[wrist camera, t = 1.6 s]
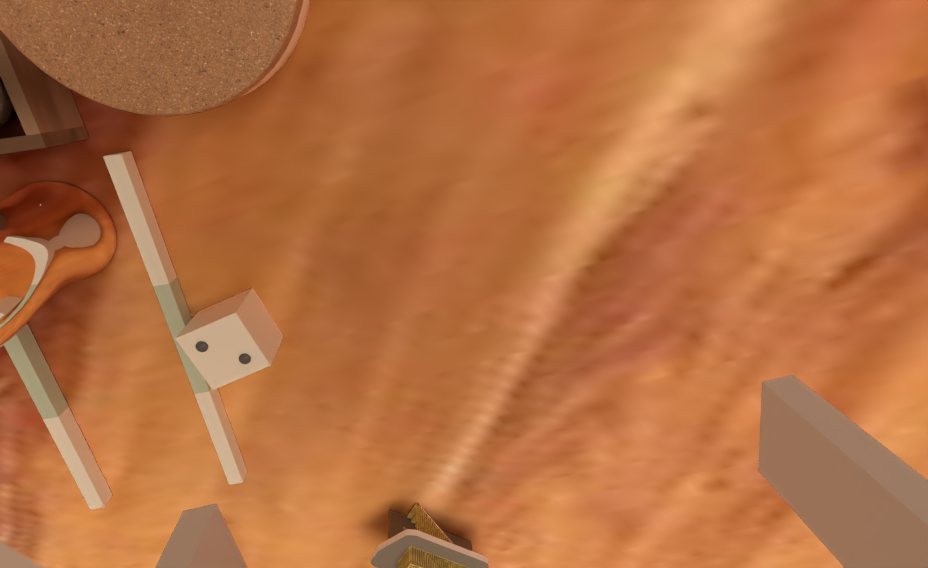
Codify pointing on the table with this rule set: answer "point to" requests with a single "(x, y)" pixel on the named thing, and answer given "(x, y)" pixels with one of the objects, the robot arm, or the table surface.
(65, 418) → the track
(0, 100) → the dome button
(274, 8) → the lidded bowl
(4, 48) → the button housing
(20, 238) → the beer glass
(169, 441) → the table surface
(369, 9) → the table surface
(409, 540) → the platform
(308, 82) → the table surface
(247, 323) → the die
